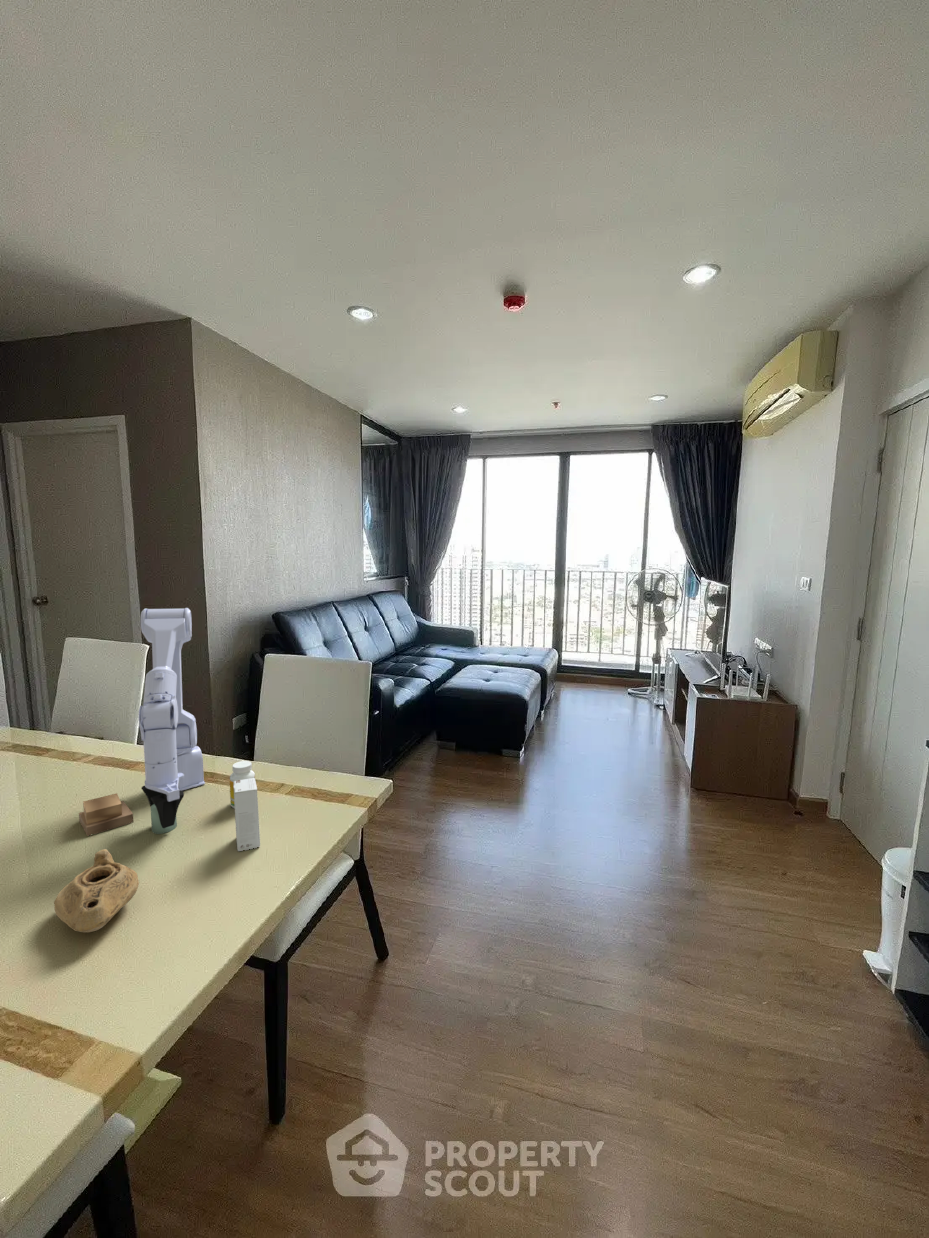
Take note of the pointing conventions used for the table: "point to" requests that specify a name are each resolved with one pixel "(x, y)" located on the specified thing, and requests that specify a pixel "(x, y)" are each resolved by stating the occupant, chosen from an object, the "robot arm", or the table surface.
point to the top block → (102, 808)
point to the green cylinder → (156, 822)
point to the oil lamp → (96, 894)
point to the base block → (107, 821)
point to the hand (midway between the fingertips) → (164, 821)
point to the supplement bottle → (240, 775)
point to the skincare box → (246, 814)
